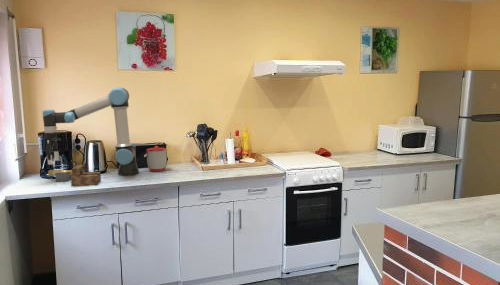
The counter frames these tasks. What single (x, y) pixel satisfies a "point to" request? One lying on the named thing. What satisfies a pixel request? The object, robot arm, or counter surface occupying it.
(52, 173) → the axle
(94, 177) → the brown wooden l-shaped block
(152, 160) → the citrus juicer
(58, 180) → the v block
